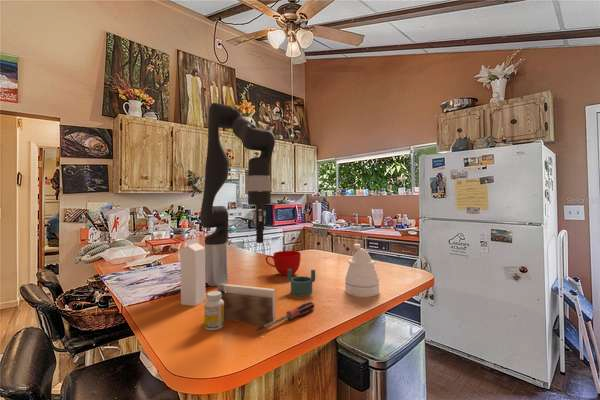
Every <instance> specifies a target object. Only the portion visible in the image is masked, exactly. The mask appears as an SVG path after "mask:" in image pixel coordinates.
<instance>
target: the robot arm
mask: <svg viewBox="0 0 600 400" xmlns="http://www.w3.org/2000/svg"><path fill="white" fill-rule="evenodd" d="M207 117H208V118H207V120H208V121H207V148H206V149H207V151H206V160H205V168H204V170H205V171H204V172H205V173H204V185H203V188H204V189H203V196H202V202H201V208H200V217H199V218H200V221H199V222H200V224H201V226H202V228H203V229H210V228H212V229H214V228H215V230H214V231H213V232H212V233H211V234H209V235H207V236H205V237H204V248H205V281H206V282H207V283H208V285H209V286H211V287H213V286H214V287H215V286H216V287H217V284H219V283H226V284H228V237H229V236H228V235H229V234H228V233H229V211H228V208H227V207H226V206H224V205H214V201H215V198H216V196H217V194H218V192H219V191H220V190H221V188H222V187H223V186H224V184H225V183H226V181H227V179H228V177H229V168H230V160H229V157H228V155H227V152H226V151H225V148H224V146H223V145H222V142H221V139H220V133H219V132H220V131H219V130H220V129H227V130H232V133H233V134H234V135H235V137H237V138H238V139H239V140H240V141H241V143H242V145H243V148H245V149H247V150H249V151H258V152H259V151H260V154H259V156H258V157H252V158H250V159H248V167H247V168H248V170H247V171H248V177H247V178H248V179H247V204H248V205H249V206H250V205H251V206H255V209H254V210H252V211H253V212H252V214H253V222H254V225H255V227H254V228H255V229H254V230H255V237H256V239H255V240H256V243H257V244H263V243H264V231H265V224H266V215H267V210H266V209H264V206H265V205H271V203H272V186H271V184H272V181H271V162H272V156H273V152H274V148H275V144H276V138H275V135H274V133H273V131H271V130H269V129H264V128H258V127H257V125H255V124H254V123H253V122H251V121H249V120H247V119H246V118H245V117H244V116H243V115H242V114H241V112H240V111H239V110H238V109H237V108H236V107H234V106H231V105H227V104H223V103H218V102H213V103H211V104H210V106H209V109H208V116H207ZM219 128H220V129H219ZM208 285H207V286H208ZM209 286H208V287H209Z"/></svg>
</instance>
